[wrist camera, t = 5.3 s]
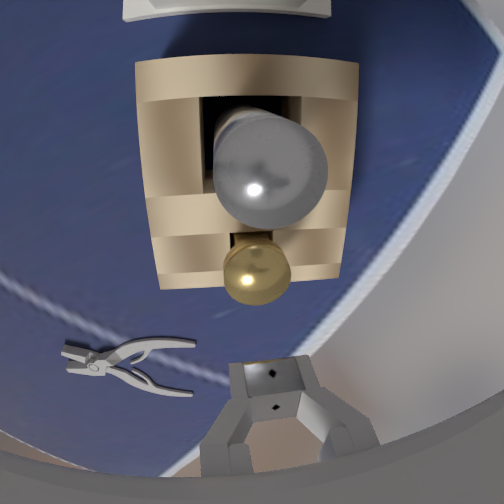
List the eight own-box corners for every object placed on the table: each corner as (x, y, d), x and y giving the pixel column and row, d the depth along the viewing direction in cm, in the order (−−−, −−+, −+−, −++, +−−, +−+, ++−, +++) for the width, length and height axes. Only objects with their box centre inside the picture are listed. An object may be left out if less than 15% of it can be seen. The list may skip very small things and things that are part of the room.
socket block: (169, 249, 25) (160, 289, 20) (154, 69, 18) (135, 62, 13) (315, 241, 26) (338, 277, 21) (326, 67, 19) (359, 63, 14)
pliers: (192, 403, 33) (73, 387, 31) (192, 392, 35) (76, 378, 32) (195, 348, 29) (52, 330, 26) (195, 337, 30) (57, 320, 27)
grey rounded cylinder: (215, 159, 22) (215, 231, 11) (213, 105, 20) (210, 119, 9) (270, 158, 22) (323, 226, 12) (271, 104, 20) (331, 120, 10)
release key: (221, 240, 24) (225, 307, 17) (219, 196, 23) (222, 250, 16) (267, 237, 25) (289, 302, 18) (268, 194, 23) (293, 246, 16)
